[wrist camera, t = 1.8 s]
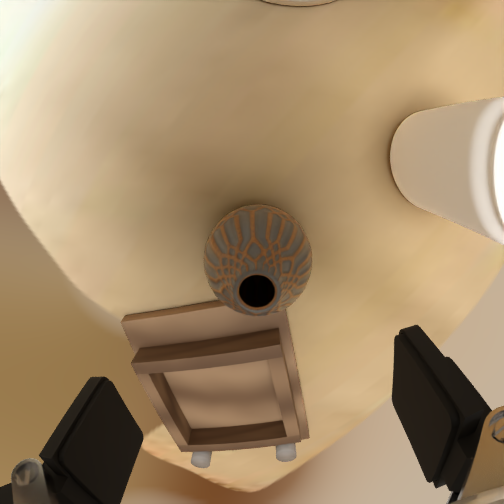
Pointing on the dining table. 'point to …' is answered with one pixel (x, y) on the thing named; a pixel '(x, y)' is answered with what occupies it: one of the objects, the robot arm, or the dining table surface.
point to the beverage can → (455, 164)
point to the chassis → (220, 378)
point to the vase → (257, 260)
